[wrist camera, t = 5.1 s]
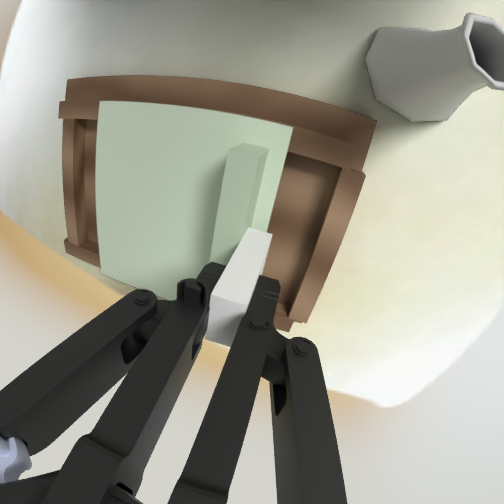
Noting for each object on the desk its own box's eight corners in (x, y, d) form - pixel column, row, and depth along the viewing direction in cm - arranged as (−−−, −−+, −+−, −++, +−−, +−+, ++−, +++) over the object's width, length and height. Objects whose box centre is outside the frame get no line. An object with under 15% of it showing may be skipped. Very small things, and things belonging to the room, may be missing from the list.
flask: (360, 109, 15) (408, 108, 7) (365, 15, 12) (403, -56, 3) (453, 135, 14) (544, 168, 6) (459, 46, 11) (544, 23, 2)
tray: (75, 79, 17) (55, 80, 15) (373, 120, 15) (382, 121, 13) (74, 239, 26) (60, 249, 24) (302, 315, 24) (300, 335, 22)
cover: (105, 100, 16) (70, 104, 13) (293, 127, 15) (288, 131, 12) (105, 270, 23) (82, 291, 20) (243, 319, 22) (231, 351, 19)
